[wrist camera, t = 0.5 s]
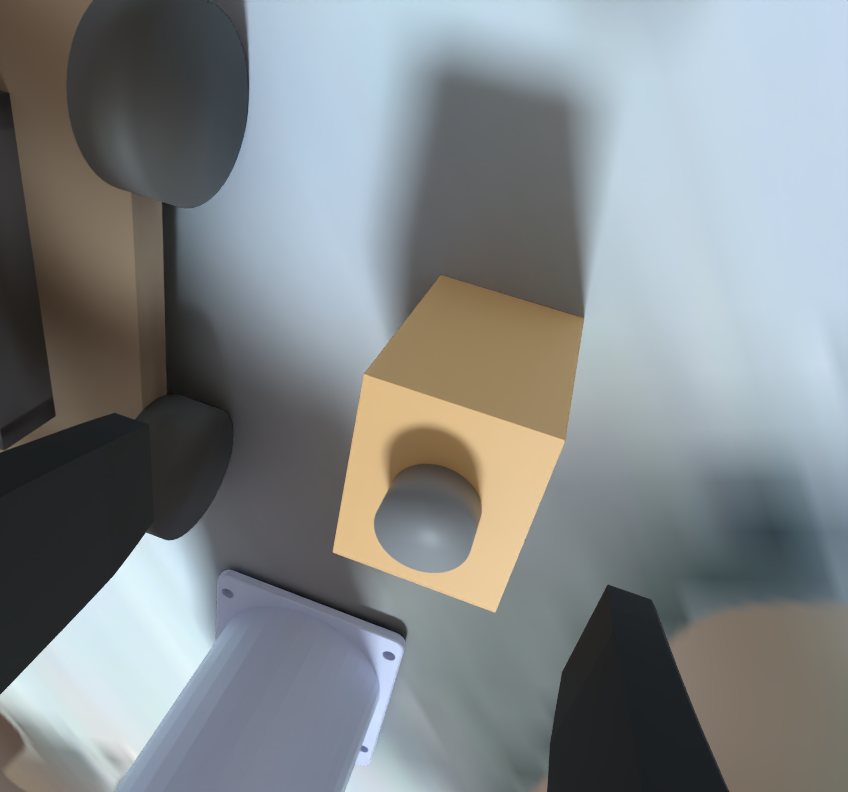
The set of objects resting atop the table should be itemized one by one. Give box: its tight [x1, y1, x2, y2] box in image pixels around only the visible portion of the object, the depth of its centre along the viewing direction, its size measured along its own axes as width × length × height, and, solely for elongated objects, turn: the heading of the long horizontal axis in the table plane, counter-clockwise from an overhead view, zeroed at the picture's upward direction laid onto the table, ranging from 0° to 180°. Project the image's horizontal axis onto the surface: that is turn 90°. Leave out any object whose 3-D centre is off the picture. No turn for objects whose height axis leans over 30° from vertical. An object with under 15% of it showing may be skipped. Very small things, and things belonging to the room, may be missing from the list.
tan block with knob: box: [333, 275, 584, 612], centre depth 15 cm, size 5×4×7 cm
